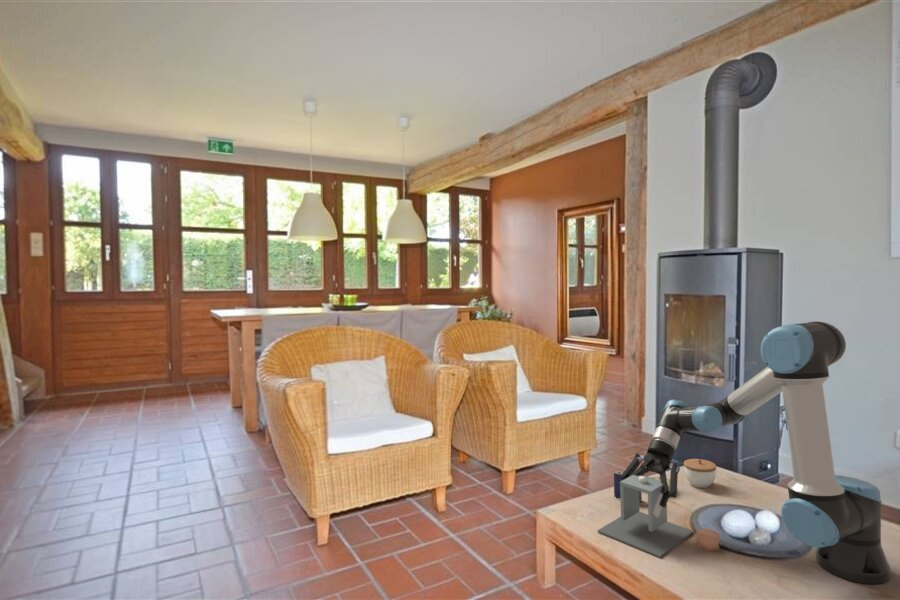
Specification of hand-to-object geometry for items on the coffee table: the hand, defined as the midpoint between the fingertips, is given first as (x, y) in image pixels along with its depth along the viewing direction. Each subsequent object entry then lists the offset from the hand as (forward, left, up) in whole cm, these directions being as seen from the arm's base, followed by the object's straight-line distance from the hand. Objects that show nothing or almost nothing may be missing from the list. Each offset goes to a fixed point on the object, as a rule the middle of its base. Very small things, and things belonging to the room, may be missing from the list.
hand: (638, 509), depth 153 cm
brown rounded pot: (-16, -9, -8) cm, 20 cm away
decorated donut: (+12, -34, -8) cm, 37 cm away
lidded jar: (+4, -49, -8) cm, 50 cm away
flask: (+16, -20, -8) cm, 27 cm away
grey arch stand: (0, -3, -4) cm, 5 cm away
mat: (0, -3, -8) cm, 9 cm away
